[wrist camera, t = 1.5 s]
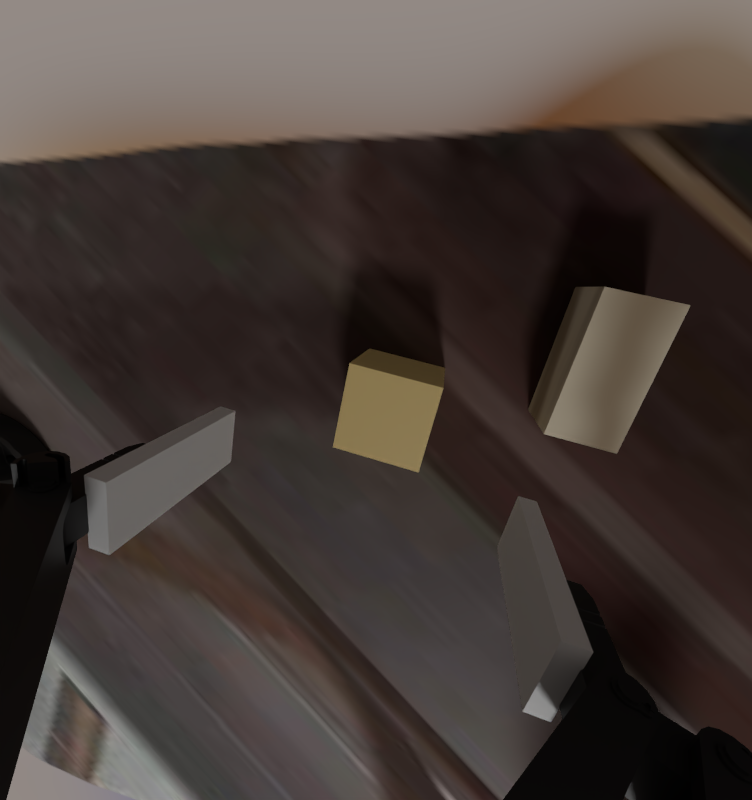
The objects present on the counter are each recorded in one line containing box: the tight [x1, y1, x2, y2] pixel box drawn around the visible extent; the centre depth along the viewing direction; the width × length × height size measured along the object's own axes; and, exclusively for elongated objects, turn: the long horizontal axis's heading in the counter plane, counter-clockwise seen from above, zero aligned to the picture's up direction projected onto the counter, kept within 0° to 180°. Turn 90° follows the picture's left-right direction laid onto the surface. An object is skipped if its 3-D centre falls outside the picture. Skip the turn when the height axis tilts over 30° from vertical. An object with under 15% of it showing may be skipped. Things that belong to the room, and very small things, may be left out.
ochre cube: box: [333, 348, 445, 472], centre depth 26 cm, size 6×6×6 cm
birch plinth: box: [528, 287, 691, 454], centre depth 23 cm, size 4×9×5 cm, turn 168°
